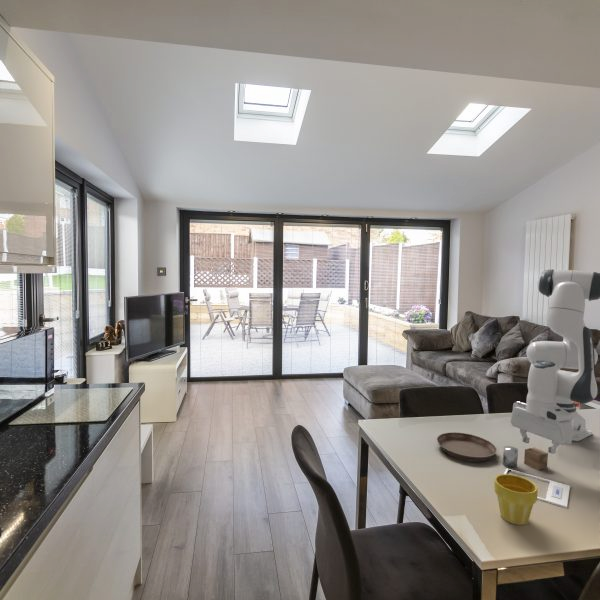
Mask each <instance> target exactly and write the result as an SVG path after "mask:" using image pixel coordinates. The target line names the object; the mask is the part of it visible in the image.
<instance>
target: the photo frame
mask: <svg viewBox="0 0 600 600" xmlns="http://www.w3.org/2000/svg"><path fill="white" fill-rule="evenodd" d="M510 470H511V471H510ZM508 471H510V472H512V473H514V472H515V474H518V475H522V476H525V477H529V478H533V479H536V480H540V481H543V482H545V483H546V482H547V483H548V486H547V487H548V488H547V492H546V495H545V496H546V497H545V498H543V497H539V496H537V501H542V502H544V503H548V504H550V505H551V504H552V505H554V506H558V507H561V508H564V509H568V502H569V497H570V490H571V489H570V488H571V485H569V484H564V483H563V482H559V481H555V480H550V479H546V478H543V477H541V476H536V475H533V474H528V473H526V472H522V471H519V470H515V469H513V468H508V467H505V470H504V472H503V474H508Z"/></svg>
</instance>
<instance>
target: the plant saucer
mask: <svg viewBox="0 0 600 600" xmlns="http://www.w3.org/2000/svg"><path fill="white" fill-rule="evenodd" d="M436 441H437V442H436V443H437V444H438V445H439V447H440V448H441V449H442V451H444V452H445V453H446V454H447V455H448V456H451V457H453V458H456V459H459V460H462V461H467V462H477V463H479V462H484V461H485V462H486V461H487V460H490V459H491V458H493V457H494V456H495V455H496V453H497V452H498V451H497V450H498V448H497V447H496V445H494V443H492V442H491V441H489V440H487V439H485V438H484V437H480V436H478V435H473V434H470V433H464V432H455V431H454V432H446V433H441V434H439V435H438V436H437V437H436Z"/></svg>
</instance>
